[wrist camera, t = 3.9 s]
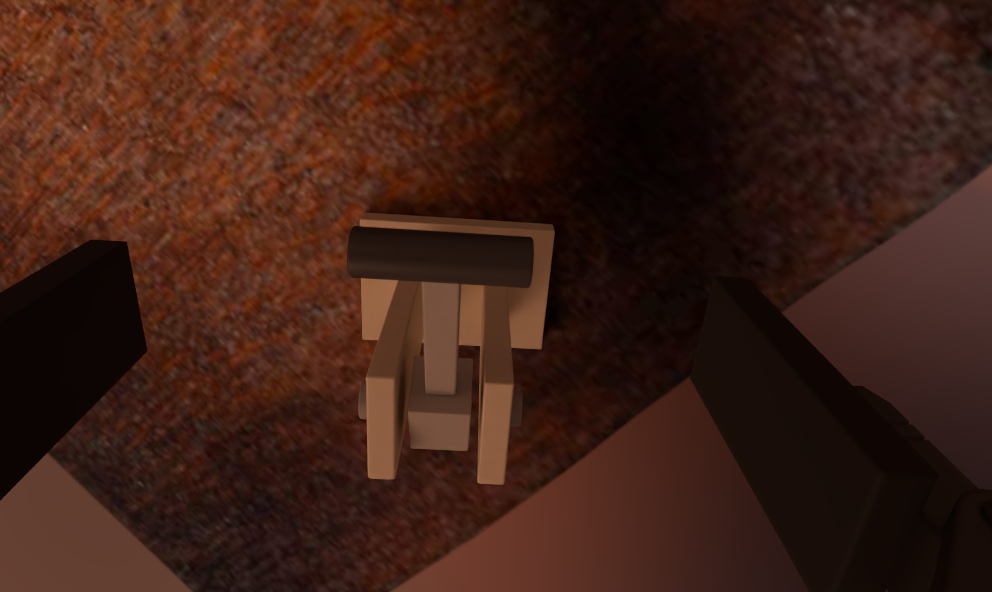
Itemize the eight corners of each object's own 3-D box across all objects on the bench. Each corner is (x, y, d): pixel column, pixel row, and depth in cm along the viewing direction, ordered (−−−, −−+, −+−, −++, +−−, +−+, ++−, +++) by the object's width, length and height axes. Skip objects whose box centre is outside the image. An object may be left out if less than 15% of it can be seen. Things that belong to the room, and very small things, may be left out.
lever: (356, 203, 18) (341, 265, 16) (533, 214, 18) (535, 277, 16) (381, 392, 25) (373, 446, 24) (504, 399, 25) (504, 453, 24)
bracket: (363, 212, 33) (287, 338, 20) (552, 224, 33) (592, 354, 21) (366, 329, 36) (300, 503, 23) (539, 339, 36) (567, 515, 24)
